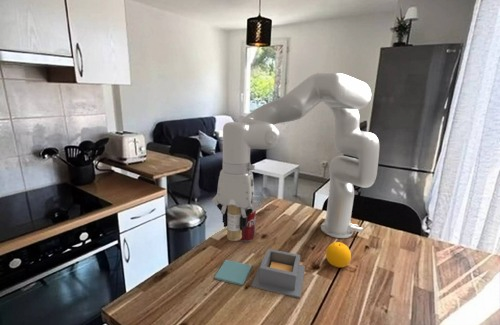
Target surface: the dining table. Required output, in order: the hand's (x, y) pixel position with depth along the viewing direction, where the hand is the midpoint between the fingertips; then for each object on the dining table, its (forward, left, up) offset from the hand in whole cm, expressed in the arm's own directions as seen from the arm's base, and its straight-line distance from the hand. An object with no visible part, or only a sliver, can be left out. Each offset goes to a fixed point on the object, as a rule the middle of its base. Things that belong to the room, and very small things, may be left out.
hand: (234, 225), depth 79 cm
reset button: (-14, -3, -15) cm, 21 cm away
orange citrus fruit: (-31, -16, -16) cm, 39 cm away
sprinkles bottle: (0, 0, -4) cm, 4 cm away
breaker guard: (-14, -3, -16) cm, 22 cm away
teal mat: (0, 0, -16) cm, 16 cm away
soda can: (+3, -21, -16) cm, 27 cm away
